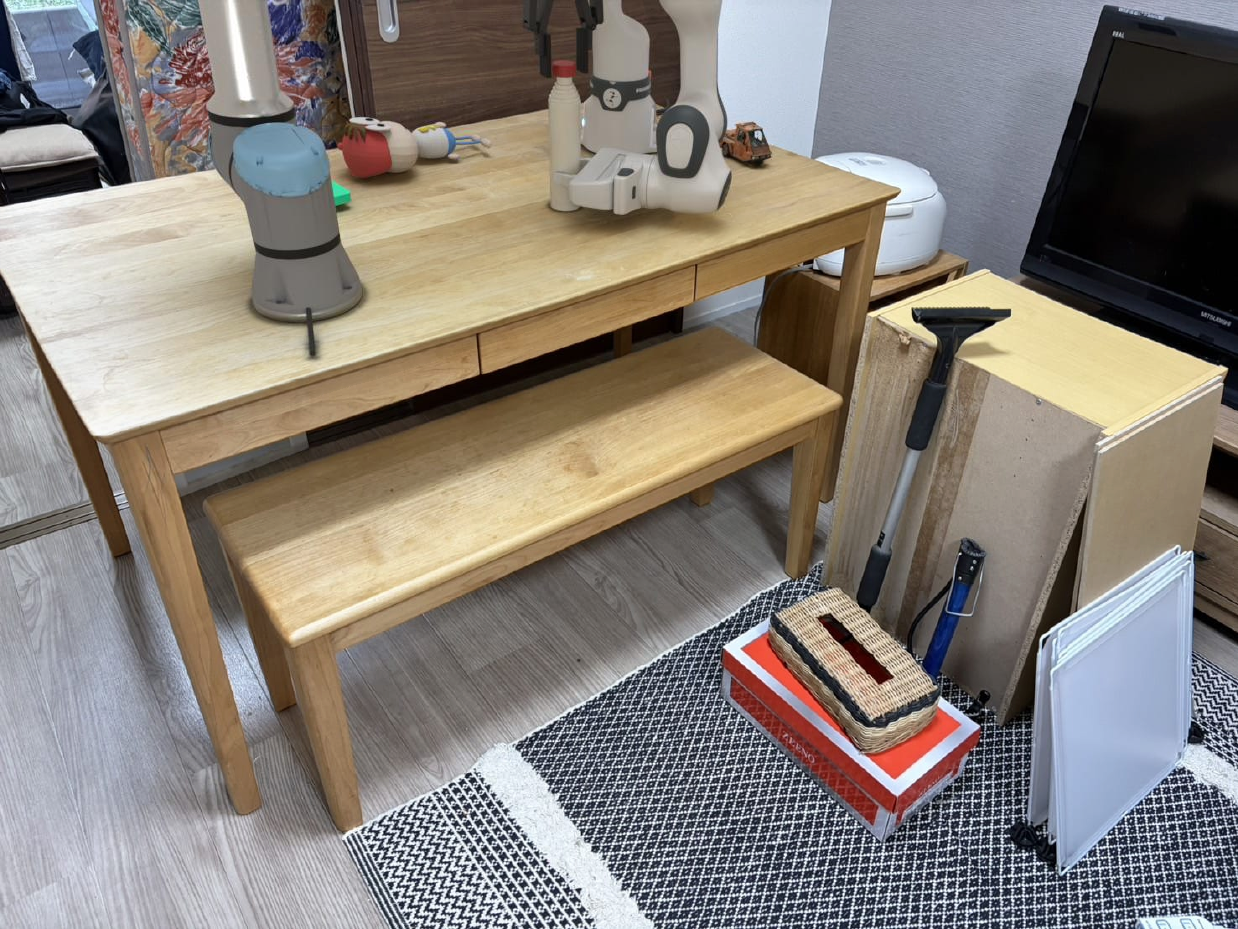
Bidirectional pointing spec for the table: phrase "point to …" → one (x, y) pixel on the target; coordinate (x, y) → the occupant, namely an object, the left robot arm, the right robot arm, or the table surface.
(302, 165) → the left robot arm
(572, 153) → the bottle
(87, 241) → the table surface
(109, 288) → the table surface
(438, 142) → the toy
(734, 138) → the toy car
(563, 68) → the cap
